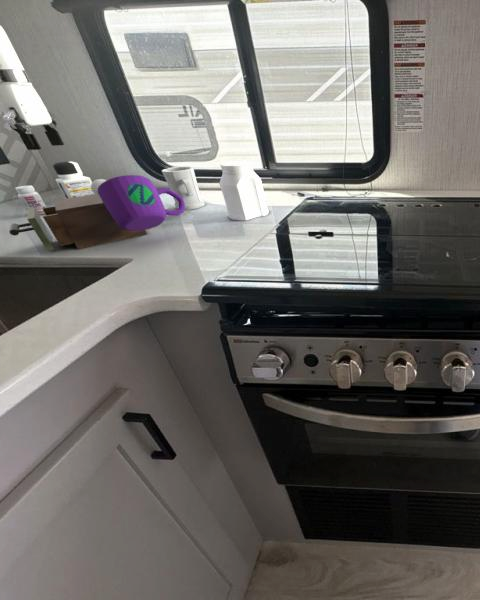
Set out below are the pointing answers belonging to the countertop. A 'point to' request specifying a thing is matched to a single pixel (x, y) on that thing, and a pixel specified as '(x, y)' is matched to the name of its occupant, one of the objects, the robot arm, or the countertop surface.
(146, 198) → the mug
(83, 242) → the cabinet
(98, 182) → the light bulb
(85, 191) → the container
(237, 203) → the jar
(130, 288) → the countertop surface
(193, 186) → the cup
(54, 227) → the drawer
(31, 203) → the pill bottle
